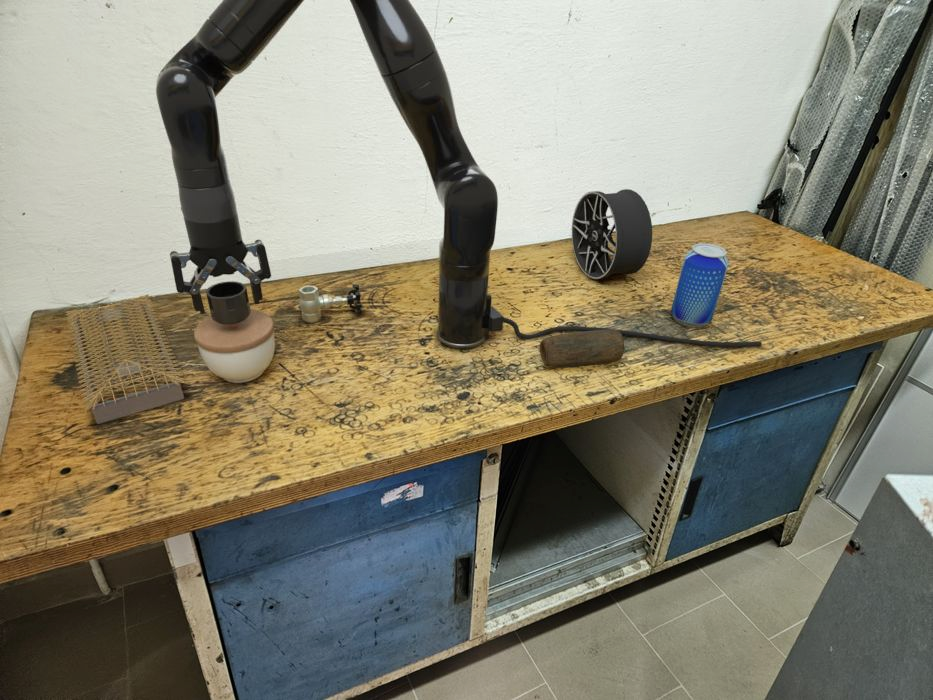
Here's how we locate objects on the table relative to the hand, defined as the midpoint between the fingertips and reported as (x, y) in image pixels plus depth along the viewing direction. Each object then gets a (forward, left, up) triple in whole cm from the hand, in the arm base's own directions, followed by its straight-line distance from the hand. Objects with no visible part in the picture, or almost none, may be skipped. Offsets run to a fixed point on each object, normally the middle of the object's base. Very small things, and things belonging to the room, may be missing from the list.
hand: (230, 306), depth 97 cm
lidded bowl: (0, 0, -13) cm, 13 cm away
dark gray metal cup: (0, 0, -2) cm, 2 cm away
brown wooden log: (-56, +22, -13) cm, 62 cm away
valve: (-19, -13, -13) cm, 27 cm away
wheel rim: (-85, -8, -13) cm, 87 cm away
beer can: (-88, +18, -13) cm, 91 cm away
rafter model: (+18, -12, -13) cm, 25 cm away
